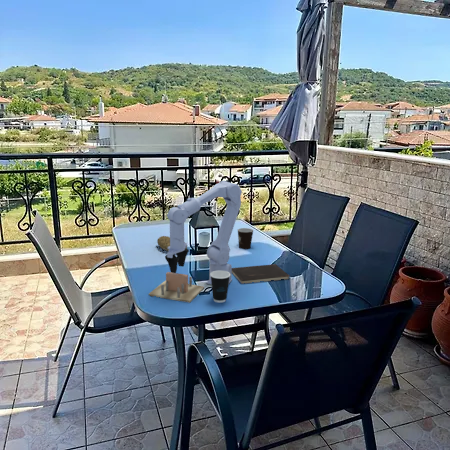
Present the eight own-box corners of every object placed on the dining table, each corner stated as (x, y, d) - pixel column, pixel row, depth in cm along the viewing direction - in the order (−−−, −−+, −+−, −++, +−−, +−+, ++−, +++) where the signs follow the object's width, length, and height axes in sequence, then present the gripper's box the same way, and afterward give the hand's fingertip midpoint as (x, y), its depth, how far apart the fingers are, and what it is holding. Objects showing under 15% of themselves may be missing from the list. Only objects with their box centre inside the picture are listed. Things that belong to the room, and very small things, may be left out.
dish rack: (204, 288, 173) (204, 277, 172) (189, 302, 159) (189, 291, 158) (165, 282, 179) (165, 271, 177) (148, 295, 165) (148, 284, 164)
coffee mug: (252, 250, 225) (253, 232, 222) (237, 249, 225) (237, 232, 223) (251, 243, 236) (252, 226, 234) (236, 243, 236) (237, 226, 234)
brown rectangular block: (188, 290, 168) (188, 274, 167) (186, 292, 167) (186, 276, 165) (168, 287, 171) (167, 271, 169) (166, 289, 169) (165, 273, 168)
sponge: (154, 248, 228) (164, 252, 209) (156, 234, 228) (166, 237, 210) (177, 250, 233) (189, 254, 215) (178, 236, 233) (190, 239, 215)
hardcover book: (289, 280, 185) (289, 275, 185) (241, 285, 179) (241, 280, 178) (274, 268, 200) (275, 263, 199) (230, 272, 193) (230, 267, 193)
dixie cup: (219, 294, 168) (219, 268, 165) (233, 300, 163) (234, 274, 160) (205, 300, 162) (205, 273, 159) (220, 306, 157) (220, 279, 154)
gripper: (175, 231, 173) (175, 262, 176) (159, 241, 159) (160, 274, 163) (191, 233, 171) (191, 264, 174) (176, 243, 157) (176, 276, 161)
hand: (177, 269), depth 168 cm, fingers open, 7 cm apart
